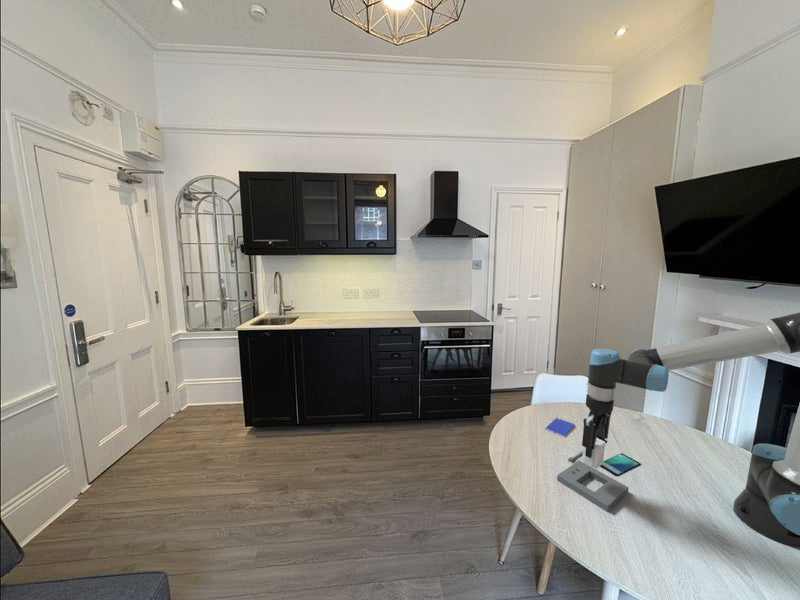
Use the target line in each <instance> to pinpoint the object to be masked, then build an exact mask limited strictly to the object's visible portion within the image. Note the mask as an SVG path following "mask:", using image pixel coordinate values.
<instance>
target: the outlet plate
mask: <svg viewBox="0 0 800 600" xmlns="http://www.w3.org/2000/svg"><path fill="white" fill-rule="evenodd" d="M556 477H557V478H556V481H558V482H559V483H561V484H562V485H564V486H566V487H567V488H569V489H570V490H572V491H573V492H575V493H576V494H578V495H580V496H581V497H583V498H584V499H586V500H588V501H589V502H591V503H592V504H594V505H596V506H597V507H598V508H601V509H602V510H603V511H605V512H609V511H610V510H611V509H612V508H613V507H614V506H615V505H616V504H618V503H619V502H620V500H621V499H623V498H624V497H625V496H626V495H627V494H629V486H627V485H626V484H623V483H622V482H619V481H618V480H616V479H614V478H612V477H610V476H608V475H607V474H604V473H603V472H602V471H600V470H597V468H596V469H595V468H593V467H591V466H589V465H587V464H585V463H584V462H583V461H582V460H577V461H576V462H574V463H573V464H571V465H570V466H569V467H567V468H566V469H564V470H562V471H561V472H559V473H558V474H557V476H556ZM588 477H590V478H591V479H594V480H596V481H597V482H599V483H600V484H603V485H602V486H600V487H599V488H597V490H595V491H593V490H592V489H590V488H589V487H586V486H585V485H583V484H582V482H583V481H584V480H586V479H587V478H588Z"/></svg>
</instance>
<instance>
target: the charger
mask: <svg viewBox="0 0 800 600" xmlns="http://www.w3.org/2000/svg"><path fill="white" fill-rule="evenodd" d="M606 444H607V443H606V442H604V441H602V440H600V439H598V438H596V442H595V446H594V448H595V449H596V450H595V458H594V467H592V468H594V469H596V470H597V469H598V468H600V466H601V465H602V464H603V461H604V460H605V459H604V457H605V449H606ZM585 448H586V447H584V446H582V451H583V454H581V455H582V457H581V462H583V463H584V458H585Z"/></svg>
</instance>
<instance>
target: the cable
mask: <svg viewBox="0 0 800 600" xmlns="http://www.w3.org/2000/svg"><path fill="white" fill-rule="evenodd" d="M581 455H583V450H581V451H580V452H578V453H576V454H575V455H574V456H570V457H568V459H567V461H568V462H570V463H573V462H574V461H575V460H576V459H577V458H579V457H580V456H581Z"/></svg>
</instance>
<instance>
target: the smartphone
mask: <svg viewBox="0 0 800 600" xmlns="http://www.w3.org/2000/svg"><path fill="white" fill-rule="evenodd" d="M640 466H641V462H639V461H638V460H636V459H634V458H632V457H630V456H628V455H626V454H624V453H622V452H621V453H619V454H616V455H614V456H612V457H609V458H608V459H604V460H603V464H602V465H601V466H599V468H601V469H604V470H605V471H606V472H607V473H610V474H612V475H613V476H615V477H620V476H621V475H623V474H625V473H628V472H629V471H631V470H634V469H636V468H637V467H640Z"/></svg>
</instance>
